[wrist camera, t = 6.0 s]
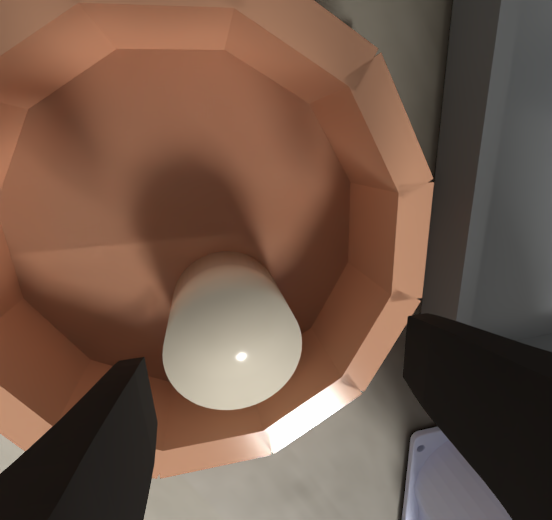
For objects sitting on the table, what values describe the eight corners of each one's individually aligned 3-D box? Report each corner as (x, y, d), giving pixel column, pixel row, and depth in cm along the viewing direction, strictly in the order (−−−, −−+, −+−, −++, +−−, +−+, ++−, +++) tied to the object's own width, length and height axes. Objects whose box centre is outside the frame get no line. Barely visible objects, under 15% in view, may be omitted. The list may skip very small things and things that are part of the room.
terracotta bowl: (393, 387, 19) (447, 454, 15) (0, 460, 15) (-74, 576, 11) (428, -41, 13) (538, -134, 9) (-210, -82, 9) (-547, -273, 5)
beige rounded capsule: (278, 338, 16) (302, 397, 12) (179, 352, 15) (172, 420, 11) (275, 246, 14) (301, 280, 10) (165, 256, 13) (152, 297, 10)
